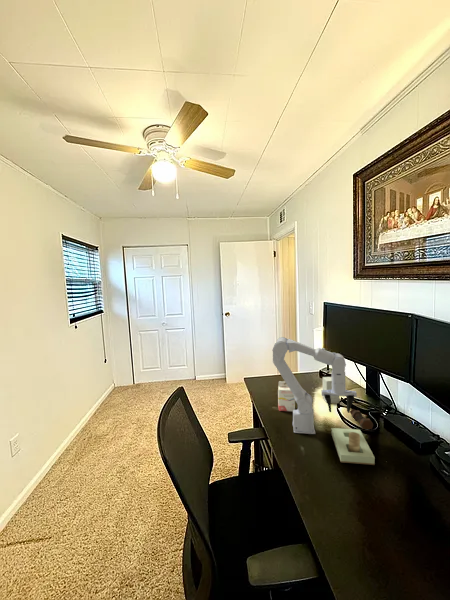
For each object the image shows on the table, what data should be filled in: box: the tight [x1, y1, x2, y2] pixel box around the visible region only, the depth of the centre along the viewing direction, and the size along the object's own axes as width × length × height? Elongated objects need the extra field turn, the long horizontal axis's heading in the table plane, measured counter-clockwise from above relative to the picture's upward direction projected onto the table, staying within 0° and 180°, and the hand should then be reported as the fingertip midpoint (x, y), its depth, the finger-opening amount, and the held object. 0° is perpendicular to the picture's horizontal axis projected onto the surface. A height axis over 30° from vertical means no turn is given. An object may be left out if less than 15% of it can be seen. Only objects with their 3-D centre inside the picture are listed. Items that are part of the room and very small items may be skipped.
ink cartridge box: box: [277, 380, 296, 412], centre depth 158 cm, size 9×5×15 cm, turn 84°
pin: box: [349, 432, 360, 453], centre depth 117 cm, size 4×4×8 cm
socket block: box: [330, 427, 376, 466], centre depth 122 cm, size 12×20×3 cm, turn 170°
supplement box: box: [322, 376, 340, 404], centre depth 168 cm, size 7×7×13 cm
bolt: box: [350, 408, 374, 430], centre depth 143 cm, size 6×5×15 cm
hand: (339, 411), depth 133 cm, fingers open, 7 cm apart
